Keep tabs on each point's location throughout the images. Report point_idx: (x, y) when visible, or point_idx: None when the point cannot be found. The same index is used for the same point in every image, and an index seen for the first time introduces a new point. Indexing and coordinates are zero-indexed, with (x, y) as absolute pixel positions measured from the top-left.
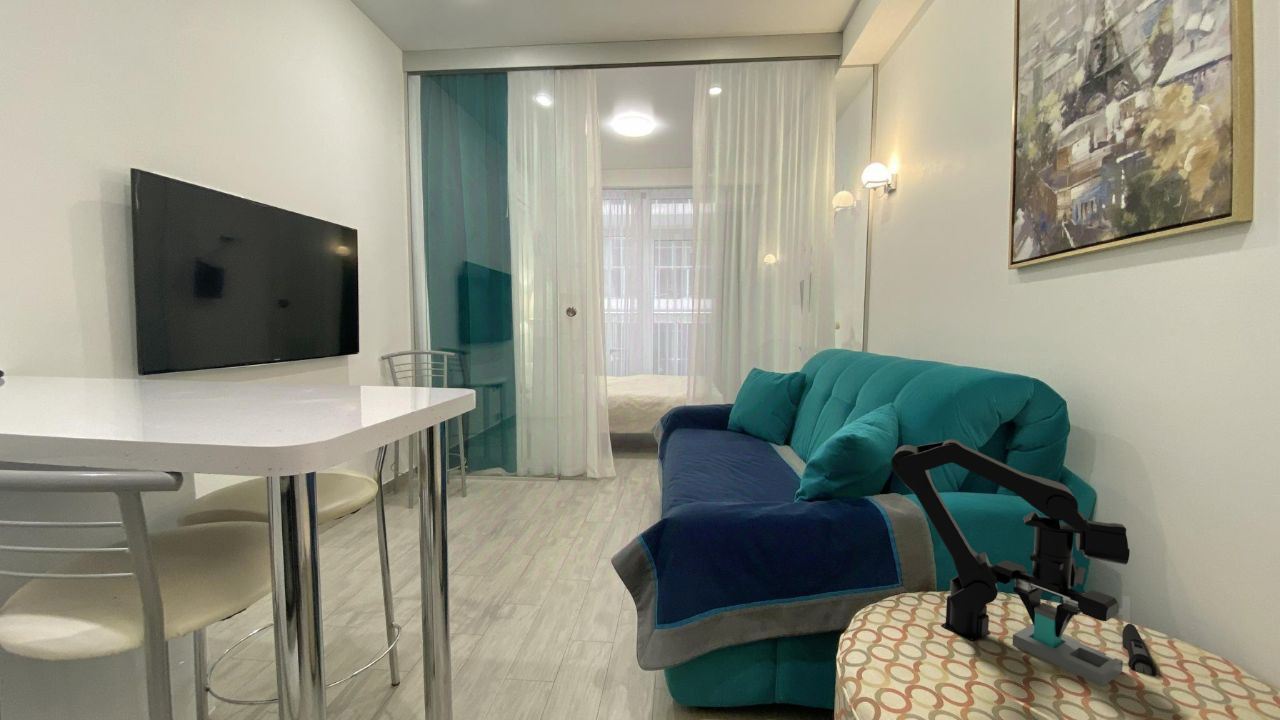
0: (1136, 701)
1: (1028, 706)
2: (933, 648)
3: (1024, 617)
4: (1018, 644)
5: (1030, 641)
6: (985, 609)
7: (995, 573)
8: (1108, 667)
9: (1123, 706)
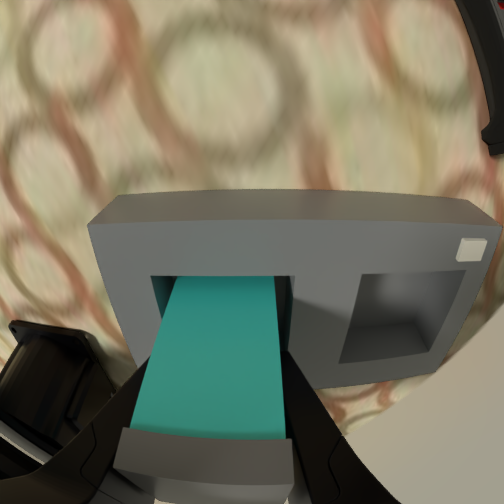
0: (477, 312)
1: None
2: None
3: (19, 68)
4: None
5: None
6: (63, 438)
7: None
8: (455, 324)
9: (449, 353)
